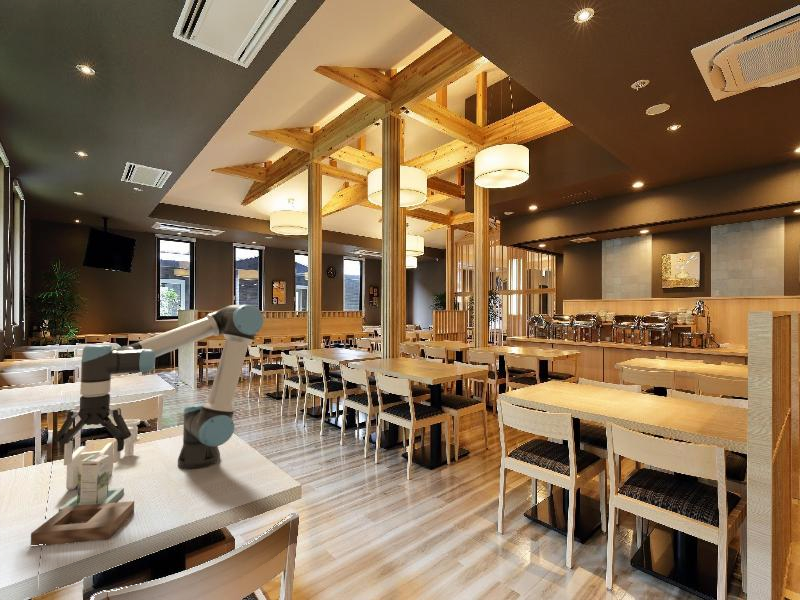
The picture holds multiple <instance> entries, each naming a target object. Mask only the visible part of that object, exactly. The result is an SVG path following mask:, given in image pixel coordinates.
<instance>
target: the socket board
mask: <svg viewBox="0 0 800 600" xmlns="http://www.w3.org/2000/svg"><path fill="white" fill-rule="evenodd" d="M134 513H135V501H134V500H132V501H131V500H130V501H121V502H118V501H117V502H115V503H104V504H91V505H78V506H66V507H65V508H63V509H62V510H61V511H59V510H58V512H57V513H56V514H54V515H53V516H52V517H50V518H49V519H47V520H46V521H45V522H44V523H42V524H41V525H40V526H38V527H37V528H36V529H34V531H32V532H31V533H30V546H31V545H39V544H43V545H45V544H46V545H47V546H54V545H55V544H57V545H66V543H68V544H78V542H79V543H88V542H89V543H90V542H98V541H108V540H111V538H112V537H113V536H114V535H115V534H116V533H117V531H119V530H120V529H121V528H122V526H123V525H124V524H125V523H126V522H127V521H128V520H129V519H130V518H131V517H132V516H133V515H134ZM75 542H76V543H75ZM52 544H53V545H52ZM55 546H56V545H55Z"/></svg>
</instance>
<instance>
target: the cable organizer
mask: <svg viewBox="0 0 800 600" xmlns="http://www.w3.org/2000/svg"><path fill="white" fill-rule="evenodd" d="M91 455H109V456H110V458H109V477H110V475H111V474H112V472H113V471H114V470H113V469H114V463H113V457H114V442H113V441H112V442H108V443H106V445H105V446H103V448H102V449H101V450H95V451H88V447H87V445H83V446H79V447H78V448H77V449H76V450H74V452H72V462H71V463H69V464H68V465H66V480H65V481H66V483H65V484H66V485H65V488H66V490H68V491H69V490H74V489H76V487H78V469H79V462H80V461H82V460H84V459H86V458H88V457H90V456H91Z"/></svg>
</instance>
